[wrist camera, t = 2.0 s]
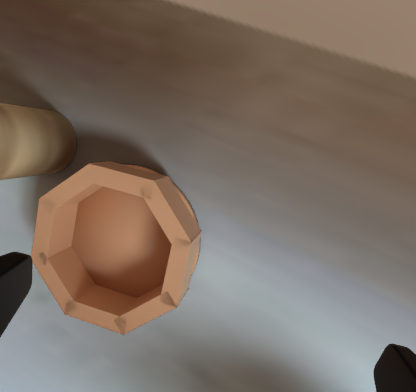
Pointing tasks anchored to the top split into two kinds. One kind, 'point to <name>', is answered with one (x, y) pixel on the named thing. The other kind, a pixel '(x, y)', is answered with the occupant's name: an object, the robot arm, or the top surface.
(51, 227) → the octagonal ashtray
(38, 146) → the oak dowel
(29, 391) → the top surface
